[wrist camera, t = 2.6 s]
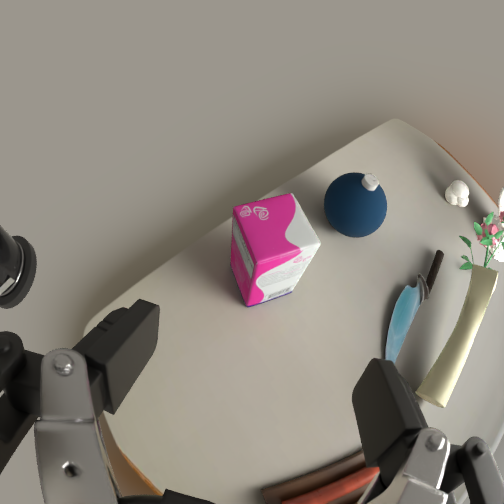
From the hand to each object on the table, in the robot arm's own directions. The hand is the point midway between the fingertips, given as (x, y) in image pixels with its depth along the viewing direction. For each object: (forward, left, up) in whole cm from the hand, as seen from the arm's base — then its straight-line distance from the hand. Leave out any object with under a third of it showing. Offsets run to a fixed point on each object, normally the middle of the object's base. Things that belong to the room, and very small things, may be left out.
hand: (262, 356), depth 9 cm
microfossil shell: (+48, +15, -20) cm, 54 cm away
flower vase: (+35, -2, -20) cm, 40 cm away
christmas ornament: (+20, +15, -20) cm, 32 cm away
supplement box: (+6, +10, -20) cm, 23 cm away
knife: (+25, +1, -20) cm, 32 cm away
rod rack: (+7, -19, -20) cm, 28 cm away
